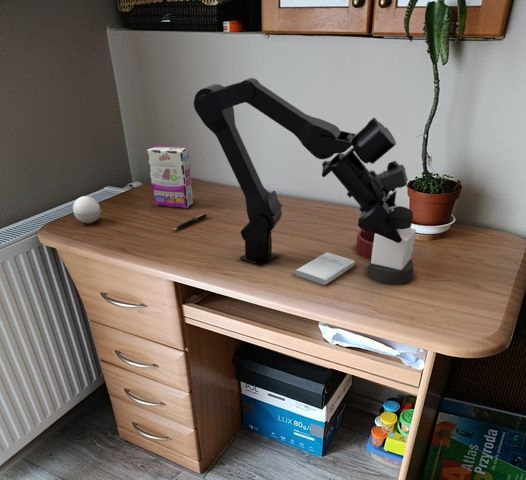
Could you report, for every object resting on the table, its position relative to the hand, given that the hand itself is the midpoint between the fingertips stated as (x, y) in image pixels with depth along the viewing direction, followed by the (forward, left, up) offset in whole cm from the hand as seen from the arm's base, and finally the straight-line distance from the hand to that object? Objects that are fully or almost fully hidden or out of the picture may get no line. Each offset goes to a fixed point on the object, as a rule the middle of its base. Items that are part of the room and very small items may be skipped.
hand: (401, 234), depth 111 cm
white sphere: (-19, +83, -10) cm, 85 cm away
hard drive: (-7, +14, -10) cm, 19 cm away
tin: (+10, +9, -10) cm, 16 cm away
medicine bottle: (0, +1, -7) cm, 7 cm away
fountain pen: (-4, +60, -10) cm, 60 cm away
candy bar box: (+5, +75, -10) cm, 75 cm away
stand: (0, +1, -10) cm, 10 cm away
